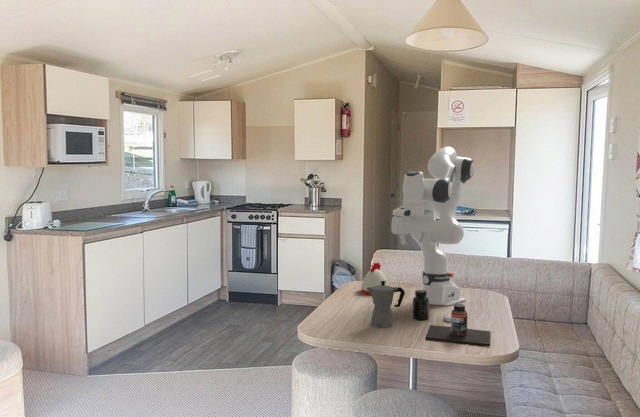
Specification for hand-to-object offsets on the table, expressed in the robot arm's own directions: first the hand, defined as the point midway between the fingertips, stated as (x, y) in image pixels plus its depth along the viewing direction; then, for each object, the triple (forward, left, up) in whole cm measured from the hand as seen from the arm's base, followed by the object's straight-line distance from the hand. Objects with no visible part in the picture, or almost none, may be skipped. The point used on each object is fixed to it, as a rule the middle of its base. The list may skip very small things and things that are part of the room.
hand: (412, 243), depth 223 cm
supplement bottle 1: (-4, +1, -33) cm, 33 cm away
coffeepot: (+14, 0, -33) cm, 35 cm away
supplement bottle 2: (-2, +26, -32) cm, 41 cm away
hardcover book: (-2, +26, -34) cm, 43 cm away
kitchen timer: (-15, -47, -33) cm, 59 cm away
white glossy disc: (-15, +9, -32) cm, 37 cm away
